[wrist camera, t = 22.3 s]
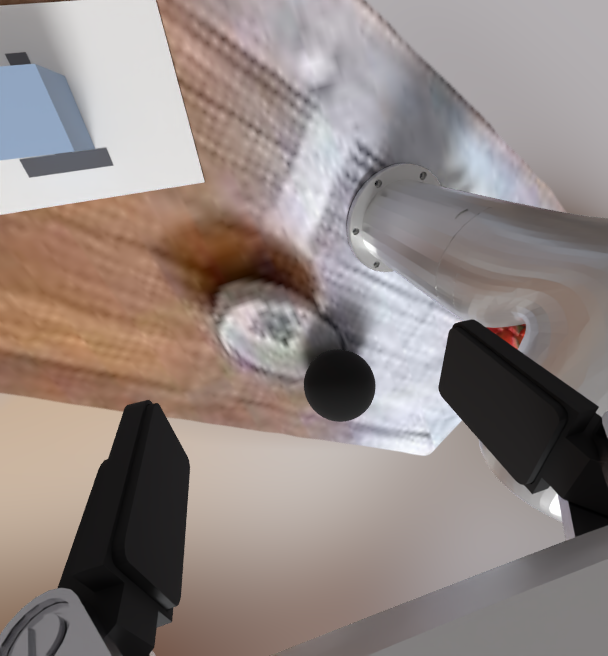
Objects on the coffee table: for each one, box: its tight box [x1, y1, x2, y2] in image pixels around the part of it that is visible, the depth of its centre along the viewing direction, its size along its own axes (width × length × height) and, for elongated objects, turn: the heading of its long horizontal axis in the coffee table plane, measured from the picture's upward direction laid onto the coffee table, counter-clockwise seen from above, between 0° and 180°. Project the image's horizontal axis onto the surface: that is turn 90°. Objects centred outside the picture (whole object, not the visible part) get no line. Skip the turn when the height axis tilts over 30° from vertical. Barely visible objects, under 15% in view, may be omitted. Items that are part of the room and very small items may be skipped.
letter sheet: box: [0, 0, 205, 215], centre depth 25 cm, size 22×13×1 cm, turn 96°
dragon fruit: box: [486, 324, 526, 349], centre depth 50 cm, size 8×8×12 cm
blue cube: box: [0, 64, 95, 160], centre depth 23 cm, size 5×5×5 cm
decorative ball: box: [304, 350, 375, 422], centre depth 43 cm, size 10×10×10 cm
